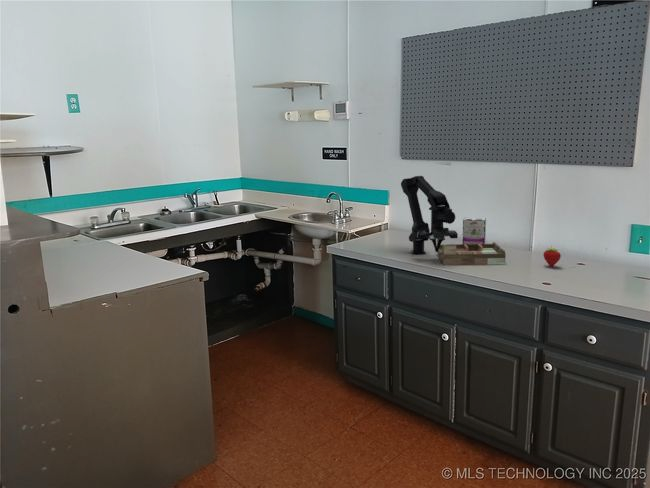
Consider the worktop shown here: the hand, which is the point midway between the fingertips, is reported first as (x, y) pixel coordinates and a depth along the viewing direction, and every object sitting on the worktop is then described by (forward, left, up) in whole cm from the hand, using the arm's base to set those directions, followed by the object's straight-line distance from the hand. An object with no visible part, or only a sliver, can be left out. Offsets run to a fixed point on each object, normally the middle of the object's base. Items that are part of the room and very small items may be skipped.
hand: (436, 251), depth 245 cm
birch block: (0, +6, -1) cm, 6 cm away
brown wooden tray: (0, +16, -4) cm, 16 cm away
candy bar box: (-19, +22, -4) cm, 29 cm away
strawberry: (+15, +49, -4) cm, 51 cm away
